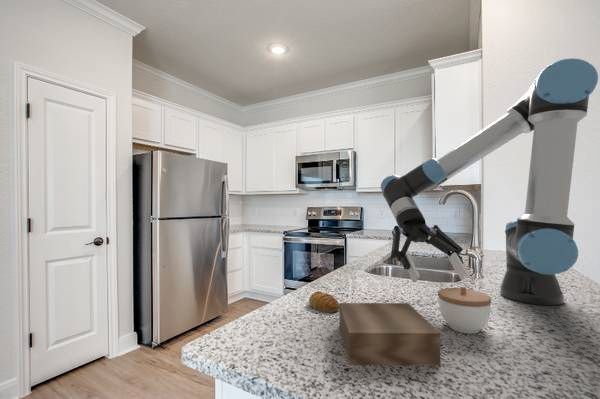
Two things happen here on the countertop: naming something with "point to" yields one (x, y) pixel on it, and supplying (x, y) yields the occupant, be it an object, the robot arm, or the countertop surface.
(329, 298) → the pastry
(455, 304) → the lidded jar
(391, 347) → the walnut box
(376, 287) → the countertop surface
